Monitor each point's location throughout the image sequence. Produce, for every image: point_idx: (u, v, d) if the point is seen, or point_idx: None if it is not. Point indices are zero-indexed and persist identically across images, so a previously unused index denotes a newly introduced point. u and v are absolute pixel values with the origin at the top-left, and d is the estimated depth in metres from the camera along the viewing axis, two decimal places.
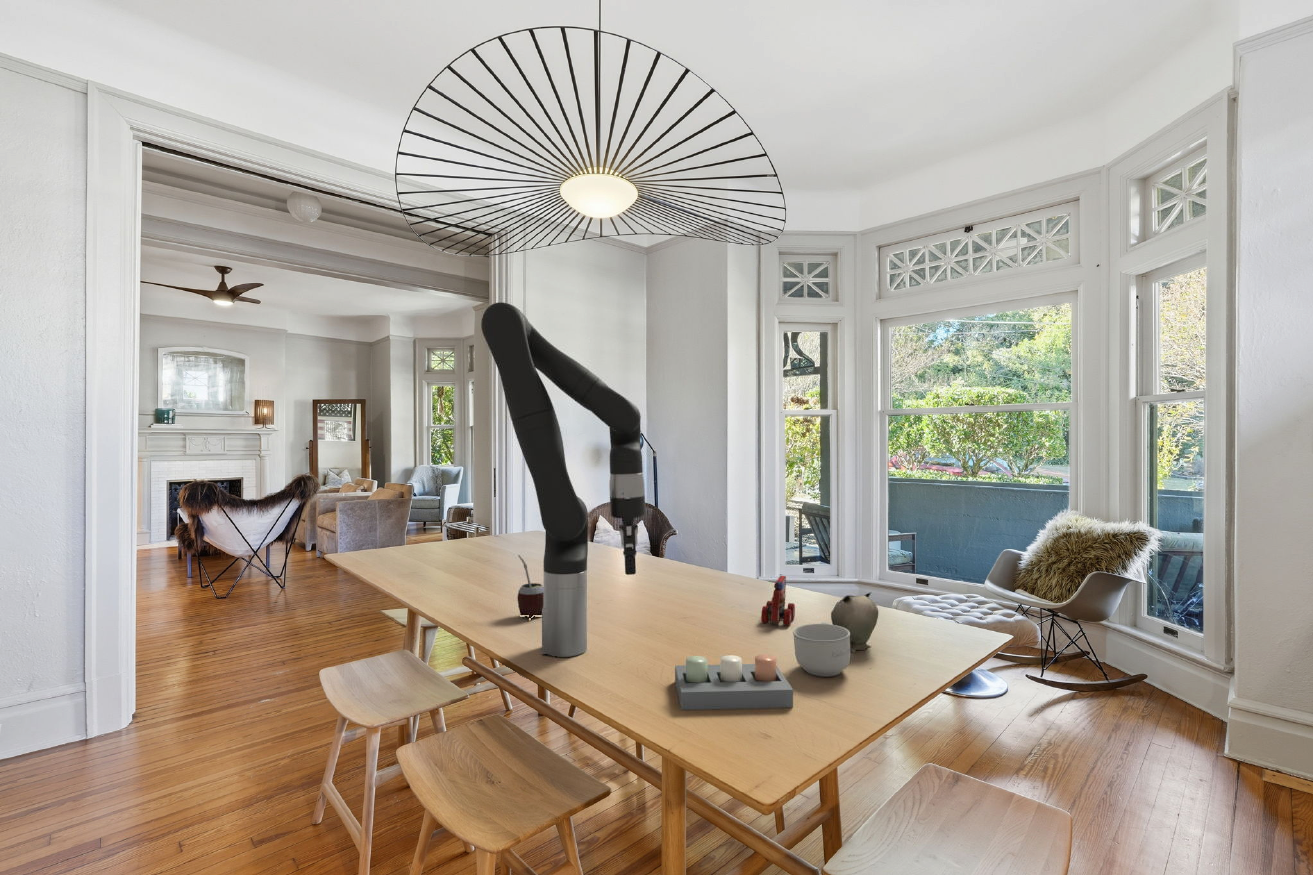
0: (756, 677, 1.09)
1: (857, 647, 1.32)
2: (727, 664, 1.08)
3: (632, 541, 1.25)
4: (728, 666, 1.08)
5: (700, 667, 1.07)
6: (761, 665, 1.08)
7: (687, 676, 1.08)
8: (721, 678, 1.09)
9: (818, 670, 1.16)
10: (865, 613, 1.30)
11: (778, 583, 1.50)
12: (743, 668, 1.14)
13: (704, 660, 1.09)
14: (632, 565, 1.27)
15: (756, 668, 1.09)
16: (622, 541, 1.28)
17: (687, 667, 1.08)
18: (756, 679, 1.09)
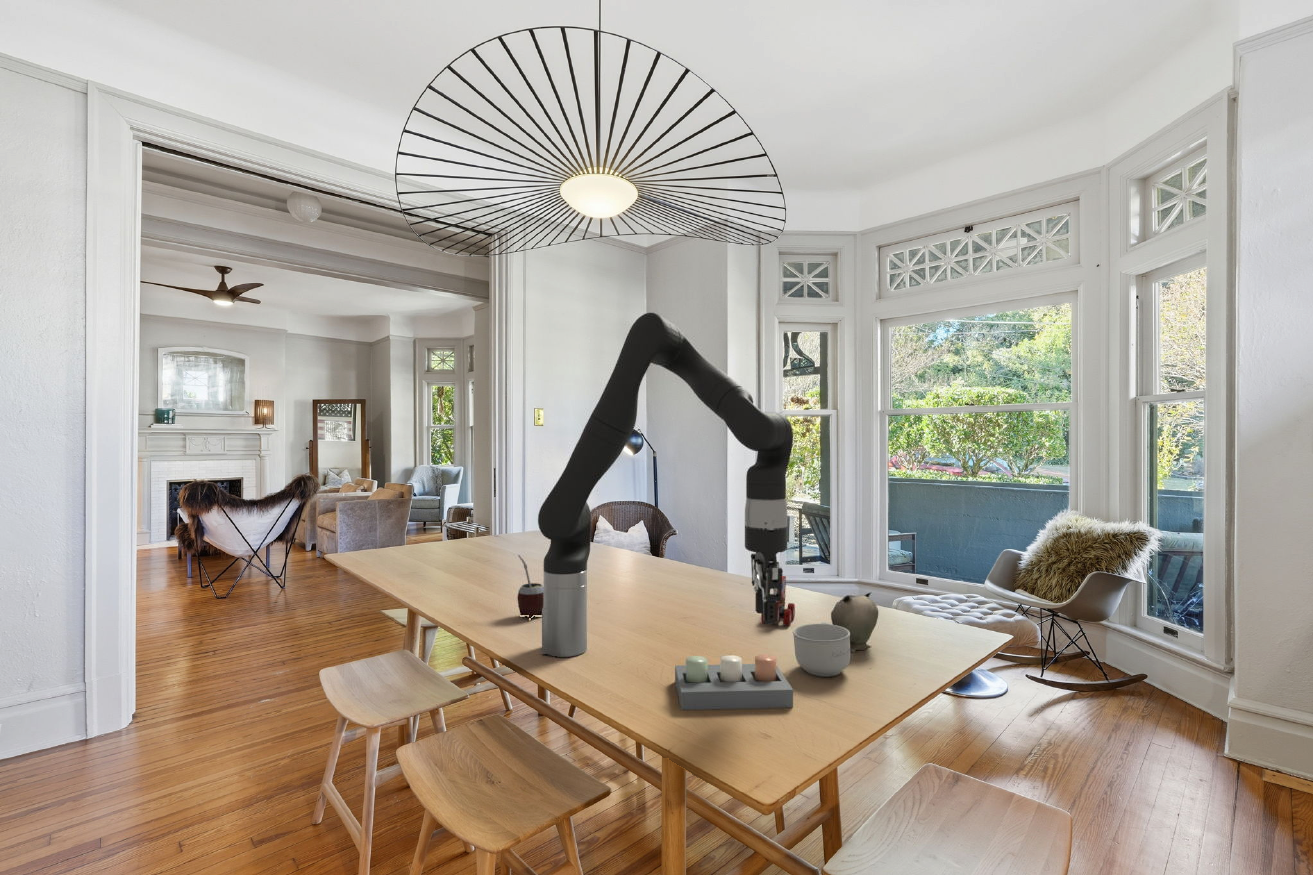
0: (756, 677, 1.09)
1: (857, 647, 1.32)
2: (727, 664, 1.08)
3: (778, 586, 1.04)
4: (728, 666, 1.08)
5: (700, 667, 1.07)
6: (761, 665, 1.08)
7: (687, 676, 1.08)
8: (721, 678, 1.09)
9: (818, 670, 1.16)
10: (865, 613, 1.30)
11: None
12: (743, 668, 1.14)
13: (704, 660, 1.09)
14: (773, 613, 1.06)
15: (756, 668, 1.09)
16: (761, 583, 1.07)
17: (687, 667, 1.08)
18: (756, 679, 1.09)
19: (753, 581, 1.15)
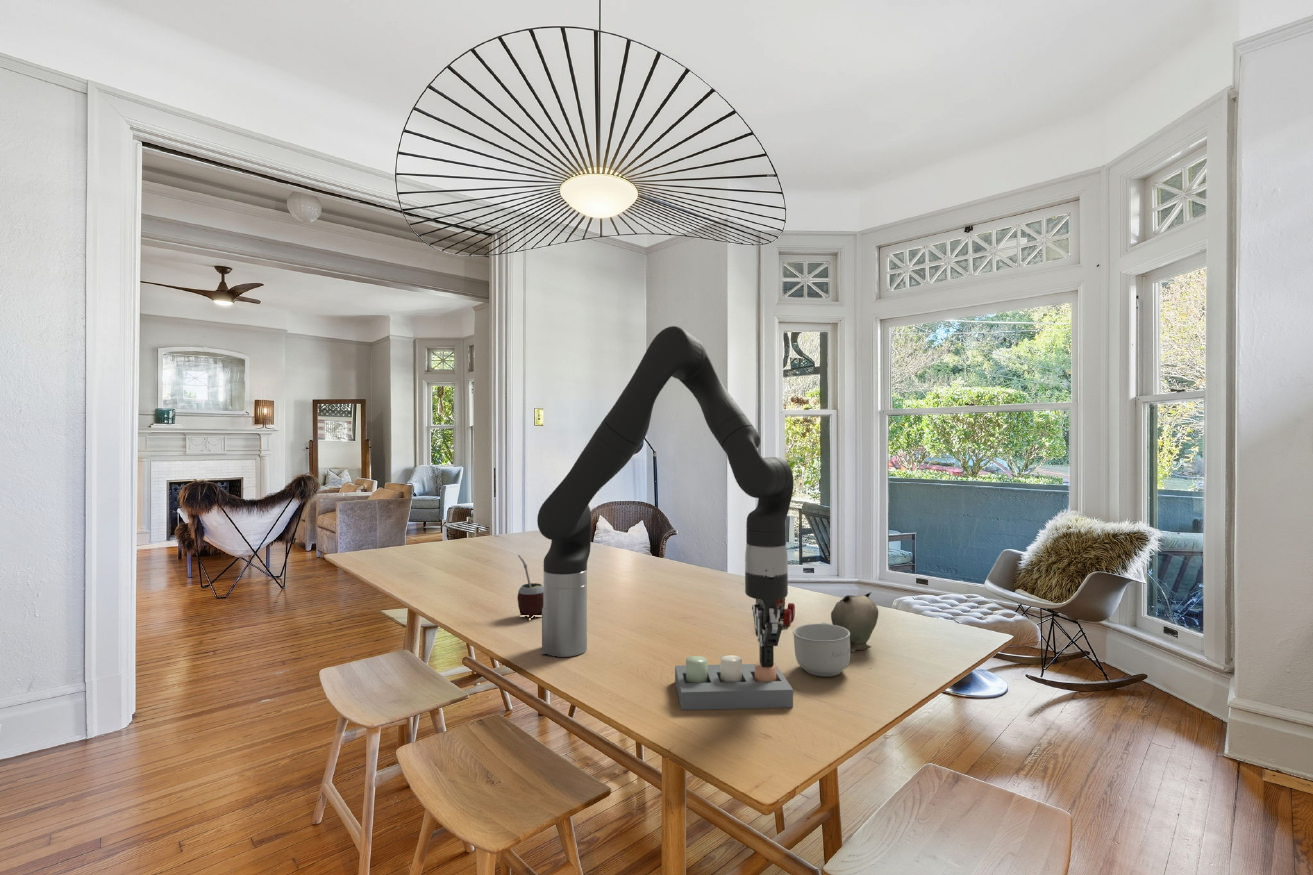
0: None
1: (857, 647, 1.32)
2: (727, 664, 1.08)
3: (776, 638, 1.06)
4: (728, 666, 1.08)
5: (700, 667, 1.07)
6: (761, 673, 1.08)
7: (687, 676, 1.08)
8: (721, 678, 1.09)
9: (818, 670, 1.16)
10: (865, 613, 1.30)
11: None
12: (743, 668, 1.14)
13: (704, 660, 1.09)
14: (770, 657, 1.09)
15: (756, 676, 1.09)
16: (760, 630, 1.08)
17: (687, 667, 1.08)
18: None
19: (757, 630, 1.12)
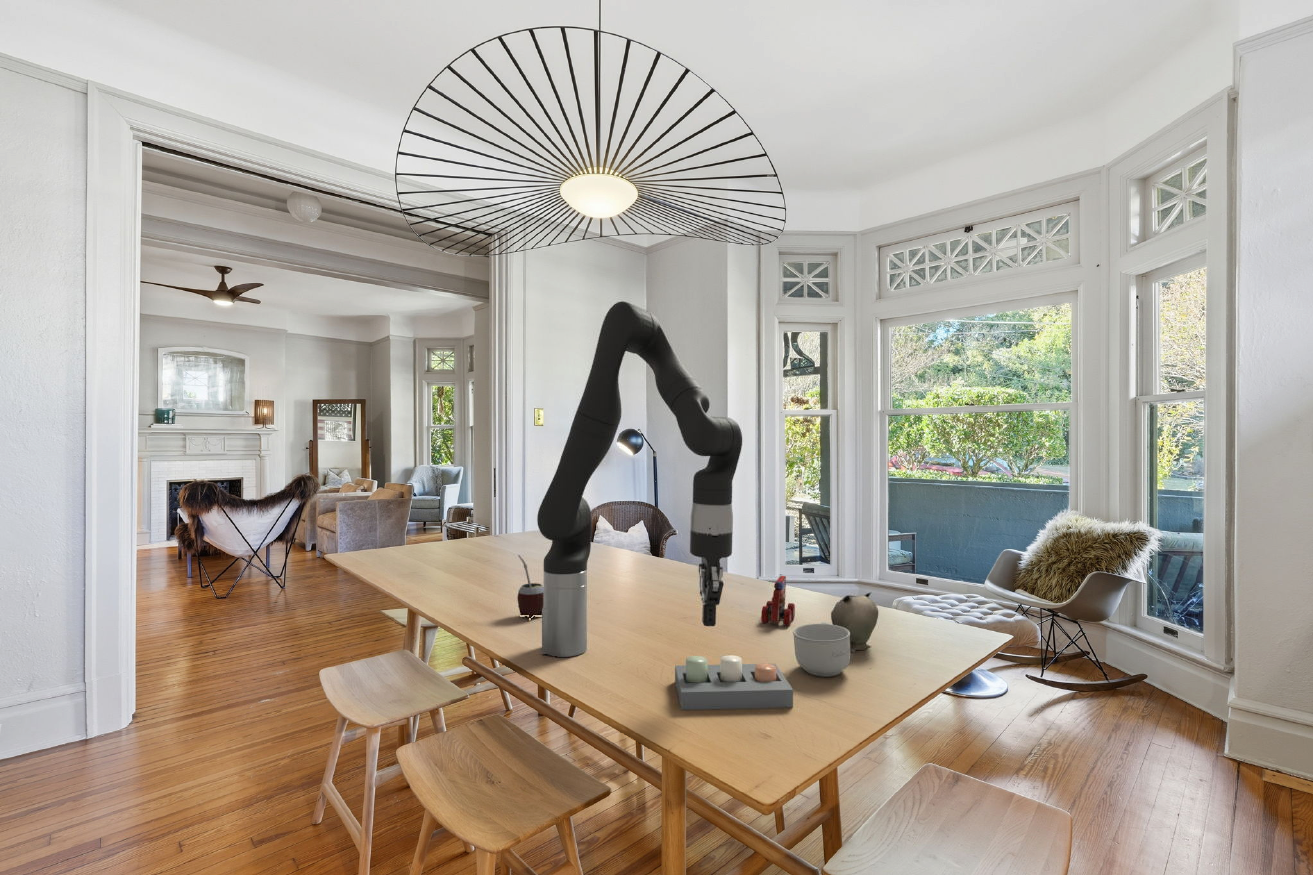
0: None
1: (857, 647, 1.32)
2: (727, 664, 1.08)
3: (717, 596, 1.06)
4: (728, 666, 1.08)
5: (700, 667, 1.07)
6: (761, 674, 1.08)
7: (687, 676, 1.08)
8: (721, 678, 1.09)
9: (818, 670, 1.16)
10: (864, 613, 1.30)
11: (778, 583, 1.50)
12: (743, 668, 1.14)
13: (704, 660, 1.09)
14: (712, 616, 1.09)
15: (756, 677, 1.09)
16: (703, 589, 1.08)
17: (687, 667, 1.08)
18: None
19: (701, 590, 1.12)
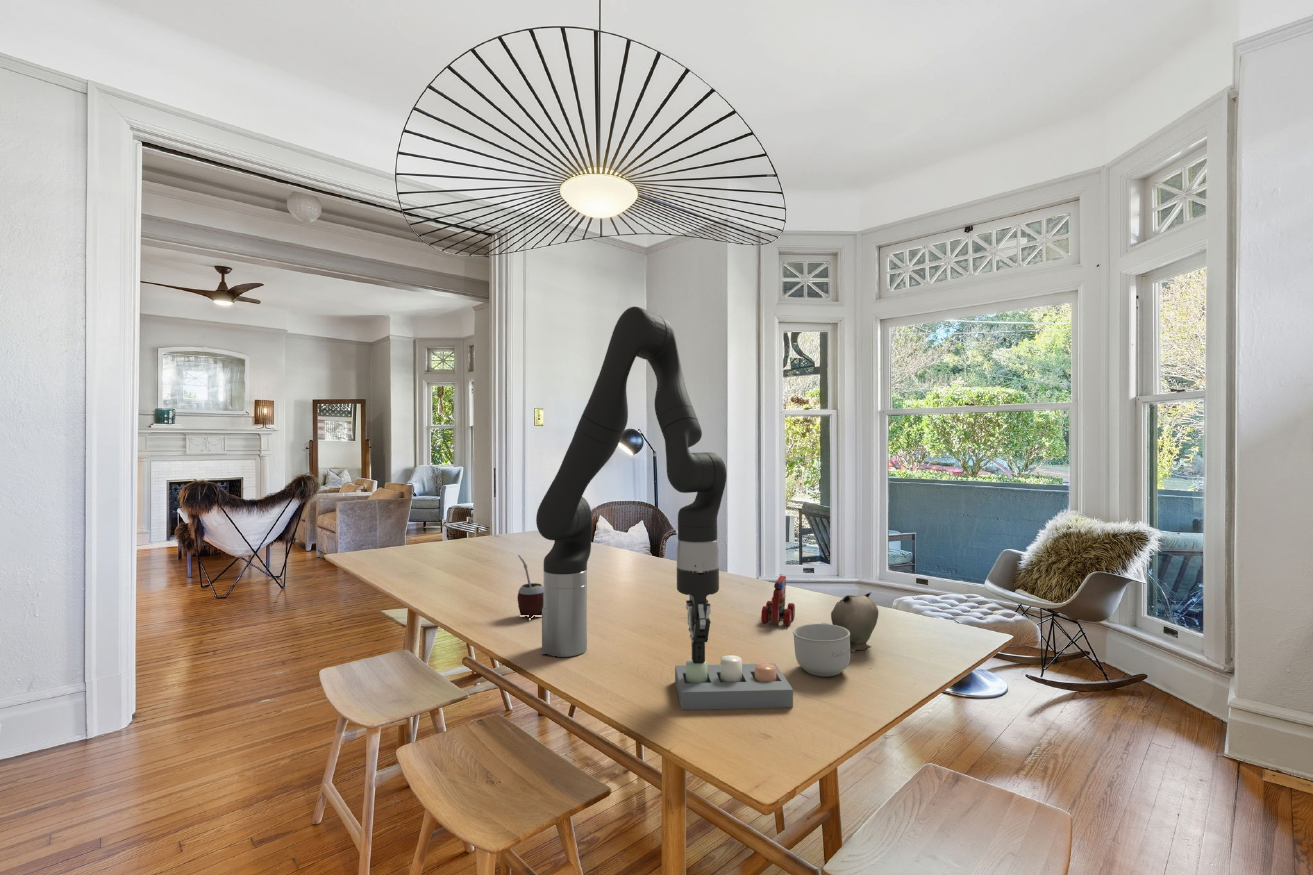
0: None
1: (857, 647, 1.32)
2: (727, 664, 1.08)
3: (705, 634, 1.05)
4: (728, 666, 1.08)
5: (700, 669, 1.07)
6: (761, 674, 1.08)
7: (687, 679, 1.08)
8: (721, 678, 1.09)
9: (818, 670, 1.16)
10: (865, 613, 1.30)
11: (778, 583, 1.50)
12: (743, 668, 1.14)
13: (704, 662, 1.09)
14: (701, 653, 1.08)
15: (756, 677, 1.09)
16: (691, 626, 1.08)
17: (687, 670, 1.08)
18: None
19: None
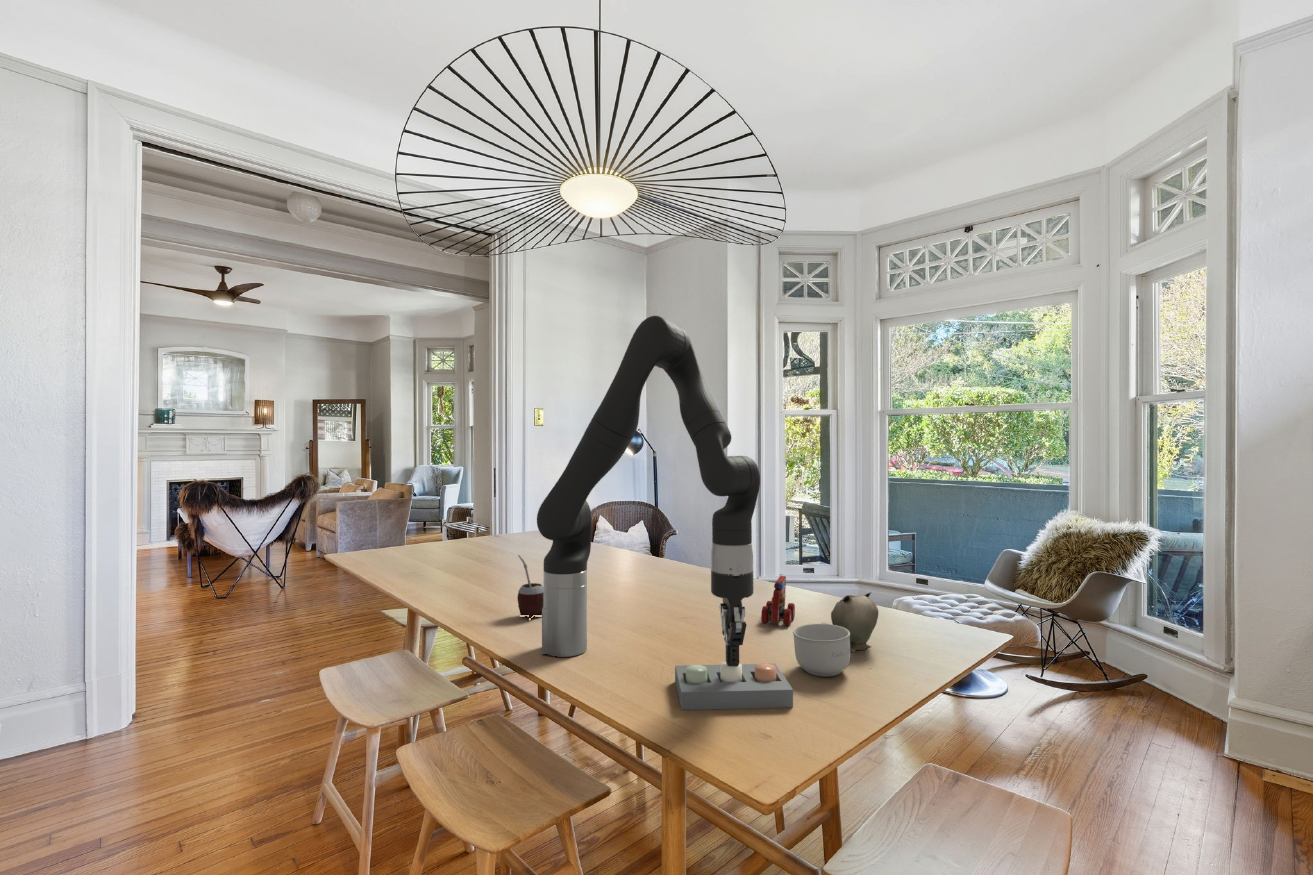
0: None
1: (857, 647, 1.32)
2: (727, 670, 1.08)
3: (740, 637, 1.05)
4: (728, 672, 1.08)
5: (700, 676, 1.07)
6: (761, 674, 1.08)
7: None
8: None
9: (818, 670, 1.16)
10: (865, 613, 1.30)
11: (778, 583, 1.50)
12: (743, 668, 1.14)
13: (704, 669, 1.09)
14: (736, 656, 1.08)
15: (756, 677, 1.09)
16: (726, 629, 1.08)
17: (687, 676, 1.08)
18: None
19: (723, 629, 1.12)
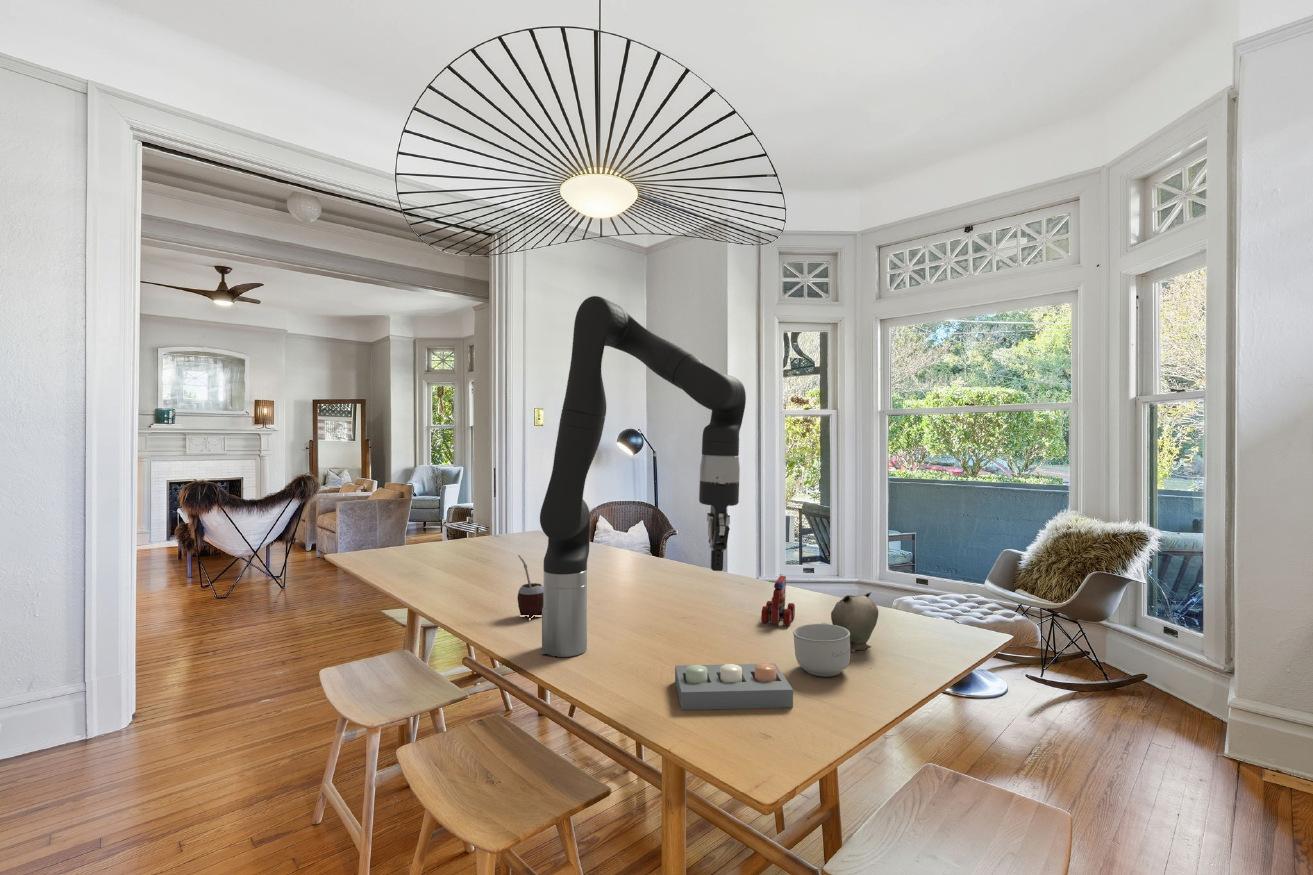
0: None
1: (857, 647, 1.32)
2: (727, 673, 1.08)
3: (724, 540, 1.13)
4: (728, 675, 1.08)
5: (700, 676, 1.07)
6: (761, 674, 1.08)
7: None
8: None
9: (818, 670, 1.16)
10: (865, 613, 1.30)
11: (778, 583, 1.50)
12: (743, 668, 1.14)
13: (704, 669, 1.09)
14: (720, 561, 1.16)
15: (756, 677, 1.09)
16: (711, 535, 1.15)
17: (687, 676, 1.08)
18: None
19: (709, 538, 1.19)
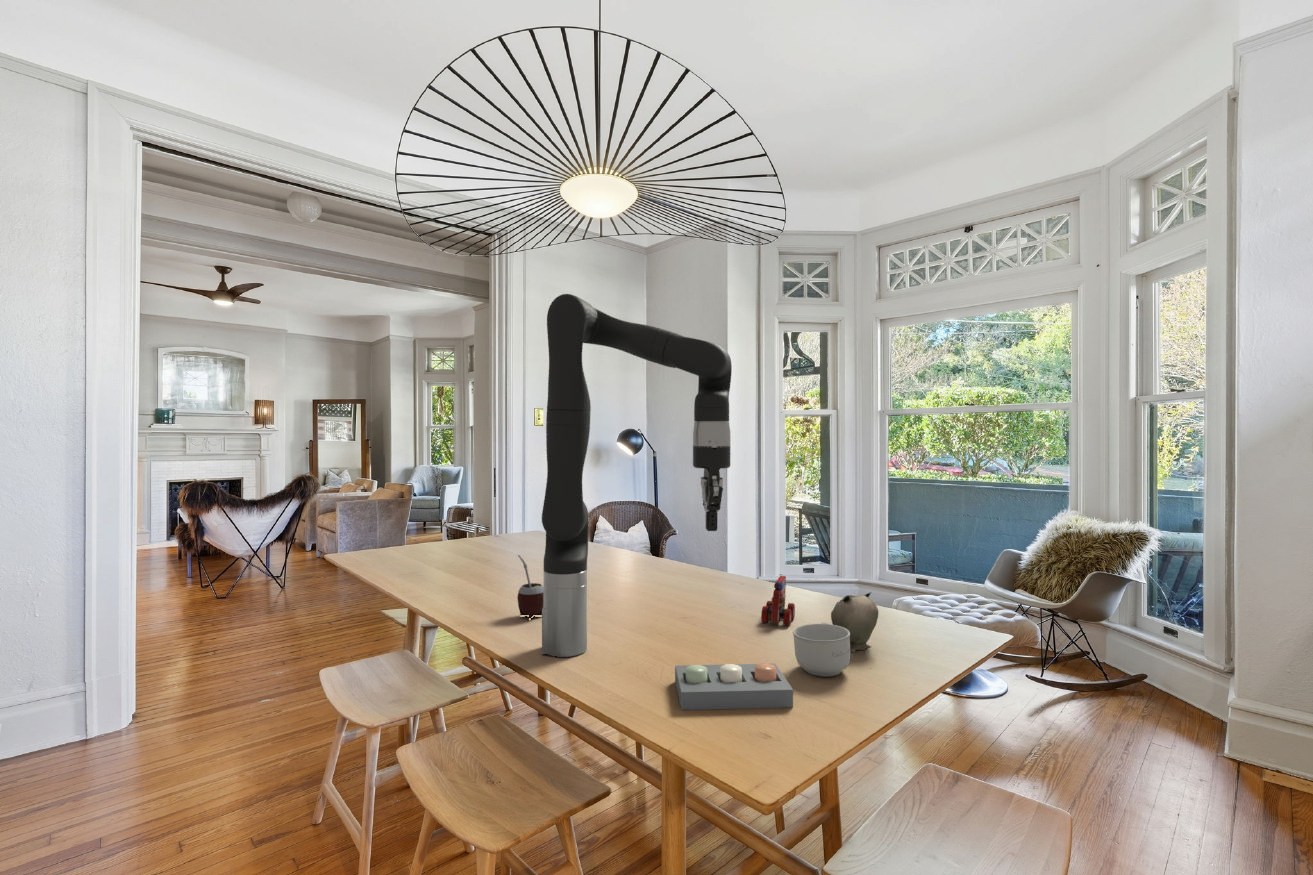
0: None
1: (857, 647, 1.32)
2: (727, 673, 1.08)
3: (718, 501, 1.19)
4: (728, 675, 1.08)
5: (700, 676, 1.07)
6: (761, 674, 1.08)
7: None
8: None
9: (818, 670, 1.16)
10: (865, 613, 1.30)
11: (778, 583, 1.50)
12: (743, 668, 1.14)
13: (704, 669, 1.09)
14: (714, 521, 1.22)
15: (756, 677, 1.09)
16: (705, 497, 1.22)
17: (687, 676, 1.08)
18: None
19: (704, 501, 1.26)
